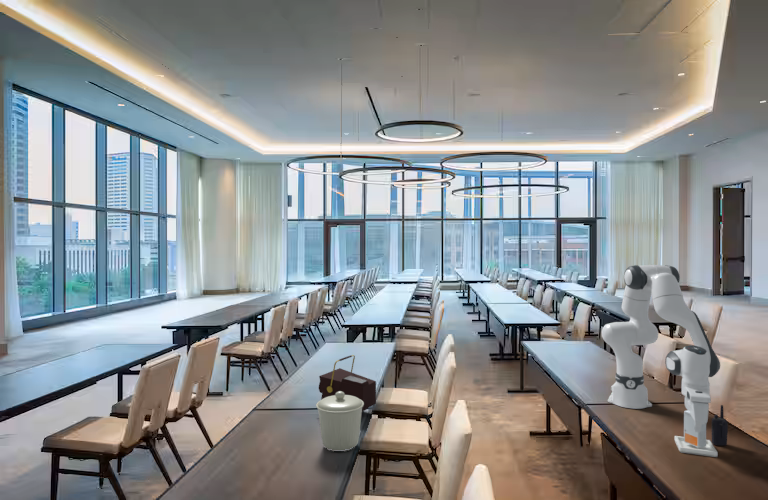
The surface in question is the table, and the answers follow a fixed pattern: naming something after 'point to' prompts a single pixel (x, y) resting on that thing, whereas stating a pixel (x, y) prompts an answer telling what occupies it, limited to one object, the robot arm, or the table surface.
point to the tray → (695, 448)
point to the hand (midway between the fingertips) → (695, 427)
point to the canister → (340, 420)
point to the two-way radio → (719, 429)
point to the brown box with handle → (348, 385)
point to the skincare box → (693, 432)
